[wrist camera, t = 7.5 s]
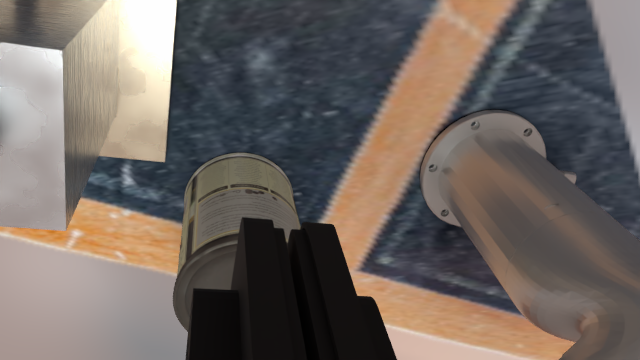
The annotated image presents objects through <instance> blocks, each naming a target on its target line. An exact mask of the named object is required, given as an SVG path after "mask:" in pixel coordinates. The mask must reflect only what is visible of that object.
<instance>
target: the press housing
mask: <svg viewBox="0 0 640 360" xmlns="http://www.w3.org/2000/svg"><path fill="white" fill-rule="evenodd" d="M176 14H177V0H0V226H3V227H18V228H32V229H47V230H62V231H66V230H67V228H68V225H69V223H70V221H71V218H72V216H73V214H74V211H75V209H76V207H77V204H78V202H79V200H80V197H81V195H82V193H83V190H84V188H85V186H86V184H87V181H88V179H89V177H90V174H91V172H92V170H93V167H94V165H95V163H96V160H97V158H98V156H107V157H118V158H128V159H138V160H148V161H158V162H165V158H166V151H167V137H168V123H169V110H170V96H171V82H172V68H173V55H174V41H175V27H176Z"/></svg>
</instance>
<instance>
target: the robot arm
mask: <svg viewBox="0 0 640 360" xmlns="http://www.w3.org/2000/svg"><path fill="white" fill-rule="evenodd" d="M430 165H431V166H430ZM575 182H576V175H575V173H574V172H569V171H559V170H558V169H557V168H556V167H555V166H553V165H552V164H551V163H550V162H549V161H548V160H547V159H546V149H545V144H544V141H543V139H542V136H541V135H540V133H539V132H538V130H537V129H536V128H535V127H534V126H533V125H532V124H531V123H530V122H529V121H527V120H526V119H524V118H523V117H521V116H520V115H517V114H515V113H512V112H509V111H503V110H485V111H481V112H477V113H473V114H470V115H468V116H466V117H463V118H461V119H459V120H458V121H456V122H455V123H453V124H451V125H450V126H449V127H448V128H446V129H445V130H444V131H443V132H442V133H441V134H440V135H439V136H438V137H437V138H436V140H435V141H434V142H433V143H432V144H431V146H430V148H429V150H428V151H427V153H426V155H425V158H424V160H423V163H422V166H421V172H420V188H421V191H422V195H423V198H424V199H425V201H426V203H427V205H428V206H429V208H430V209H431V210H432V212H433V213H434V214H435V215H436V216H437V217H438V218H440V219H441V220H443V221H445V222H447V223H449V224H452V225H455V226H459V227H462V228H463V229H464V231H465V232H466V234H467V235H468V237H469V238H470V240H471V241H472V242H473V244H474V245H475V247H476V248H477V250H478V251H479V253H480V254H481V256H482V257H483V258H484V260H485V261H486V263H487V264H488V266H489V267H490V269H491V270H492V272H493V273H494V275H495V276H496V277H497V279H498V280H499V282H500V283H501V285H502V286H503V288H504V289H505V291H506V292H507V293H508V295H509V296H510V298H511V300H512V301H513V303H514V304H515V305H516V307H517V308H518V310H519V311H520V312H521V313H522V314H523V316H524V317H525V318H526V319H528V320H529V321H530V322H531V323H532V324H534V325H535V326H537V327H538V328H540V329H541V330H543V331H545V332H547V333H549V334H552V335H554V336H557V337H559V338H562V339H566V340H569V341H573V342H576V343H575V344H574V345H573V346H572V347H571V348H570V349H568V350H567V351H566V352H565V353H564V354H563V355H562V357H561V358H560V359H559V360H640V241H639V240H638V239H637V238H636V237H634V236H633V235H632V234H631V233H630V232H629V231H627V230H626V229H625V228H624V227H623V226H622V225H621V224H619V223H618V222H617V221H616V220H615V219H614V218H612V217H611V216H610V215H609V214H608V213H607V212H606V211H604V210H603V209H602V208H601V207H600V206H599V205H598V204H596V203H595V202H594V201H593V200H592V199H591V198H590V197H588V196H587V195H586V194H585V193H584V192H583V191H582V190H580V189H579V188H578V187H577V186H576V185H575ZM186 360H397V359H396V356H395V353H394V350H393V348H392V345H391V342H390V339H389V337H388V334H387V331H386V328H385V326H384V323H383V320H382V317H381V315H380V312H379V309H378V306H377V304H376V302H375V300H374V299H373V298H372V297H367V296H357V294H356V291H355V288H354V285H353V282H352V279H351V275H350V272H349V269H348V266H347V263H346V260H345V257H344V254H343V251H342V248H341V245H340V242H339V238H338V235H337V232H336V229H335V227H334V225H332V224H323V223H310V222H303V223H302V226H301V228H300V230H299V229H292V230H291V231H290V235H289V239H288V244H286V238H285V232H284V229H283V228H274V223H273V220H272V219H259V218H246V217H242V219H241V223H240V229H239V236H238V242H237V249H236V256H235V262H234V269H233V276H232V282H231V289H230V290H222V289H201V288H193V293H192V301H191V310H190V319H189V329H188V340H187V350H186Z"/></svg>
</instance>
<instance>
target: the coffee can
mask: <svg viewBox="0 0 640 360" xmlns="http://www.w3.org/2000/svg"><path fill="white" fill-rule="evenodd" d="M184 205H185V206H184V215H183V225H182V236H181V245H180V253H179V265H178V274H177V279H176V282H175V287H174V292H173V306H174V310H175V314H176V316H177V318H178V320H179V321H180V323H181V324H182V326H183V327H184V328H185V329H186V330H187V331H188V329H189V319H190V310H191V301H192V293H193V288H201V289H222V290H230V289H231V282H232V276H233V269H234V262H235V256H236V249H237V242H238V236H239V229H240V223H241V219H242V217H246V218H259V219H272V220H273V223H274V228H283V229H284V232H285V238H286V244H288V239H289V235H290V231H291V230H292V229H299V230H300V224H299V219H298V215H297V210H296V206H295V202H294V198H293V191H292V187H291V184H290V181H289V179H288V177H287V176H286V174H285V173H284V172H283V171H282V170H281V169H280V168H279V167H278V166H277V165H276V164H275V163H273V162H272V161H270V160H268V159H266V158H264V157H262V156H259V155H255V154H250V153H230V154H225V155H222V156H219V157H215V158H213V159H212V160H210V161H208V162H207V163H205V164H204V165H202V166H201V167H200V168H199V169H198V170H197V171H196V172H195V173H194V174H193V176H192V177H191V179H190V180H189V182H188V184H187V187H186V190H185V197H184Z"/></svg>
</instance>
